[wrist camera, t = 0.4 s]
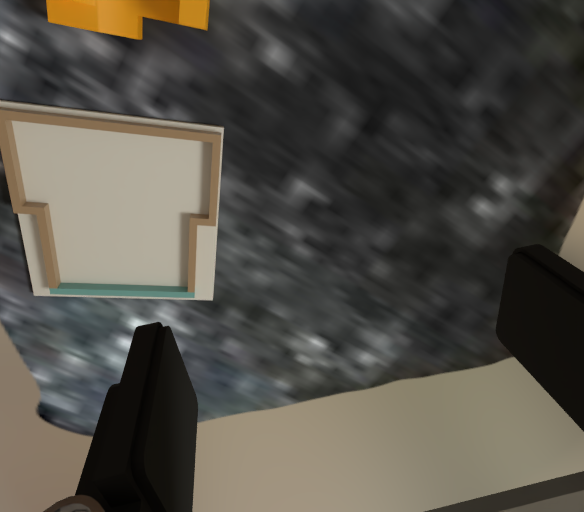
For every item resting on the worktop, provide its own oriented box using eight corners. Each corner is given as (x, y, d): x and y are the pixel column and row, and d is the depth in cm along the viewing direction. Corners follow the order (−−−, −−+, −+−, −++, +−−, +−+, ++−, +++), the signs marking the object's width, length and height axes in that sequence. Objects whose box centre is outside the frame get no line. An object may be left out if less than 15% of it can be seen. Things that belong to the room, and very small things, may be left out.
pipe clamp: (62, 23, 33) (31, 20, 28) (57, -39, 31) (23, -55, 26) (205, 51, 36) (203, 54, 30) (209, -4, 34) (208, -11, 28)
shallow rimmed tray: (-2, 99, 35) (-12, 102, 34) (223, 126, 39) (223, 130, 38) (36, 292, 45) (29, 301, 43) (212, 297, 49) (212, 305, 48)
